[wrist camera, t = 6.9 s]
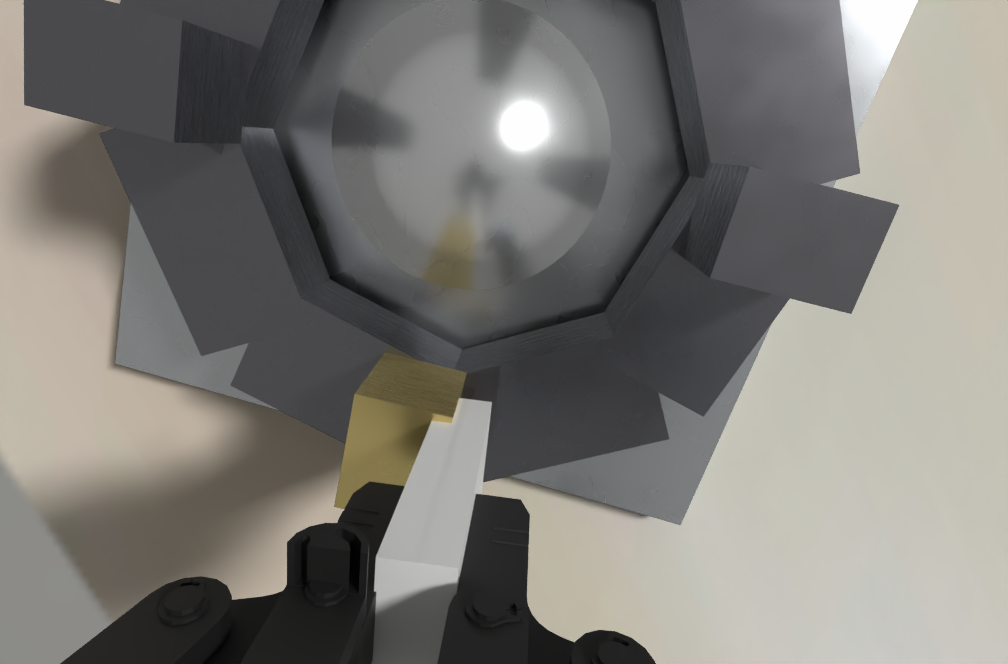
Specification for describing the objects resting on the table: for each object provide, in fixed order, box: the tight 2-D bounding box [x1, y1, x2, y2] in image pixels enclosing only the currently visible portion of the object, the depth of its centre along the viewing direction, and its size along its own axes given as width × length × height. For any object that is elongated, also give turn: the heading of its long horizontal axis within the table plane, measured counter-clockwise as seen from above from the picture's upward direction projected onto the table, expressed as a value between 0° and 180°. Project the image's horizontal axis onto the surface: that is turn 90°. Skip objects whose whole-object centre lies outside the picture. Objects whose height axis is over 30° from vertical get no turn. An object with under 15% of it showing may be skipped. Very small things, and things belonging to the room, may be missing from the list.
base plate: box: [115, 0, 918, 525], centre depth 17 cm, size 21×21×4 cm
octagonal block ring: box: [24, 0, 899, 509], centre depth 15 cm, size 18×18×6 cm
